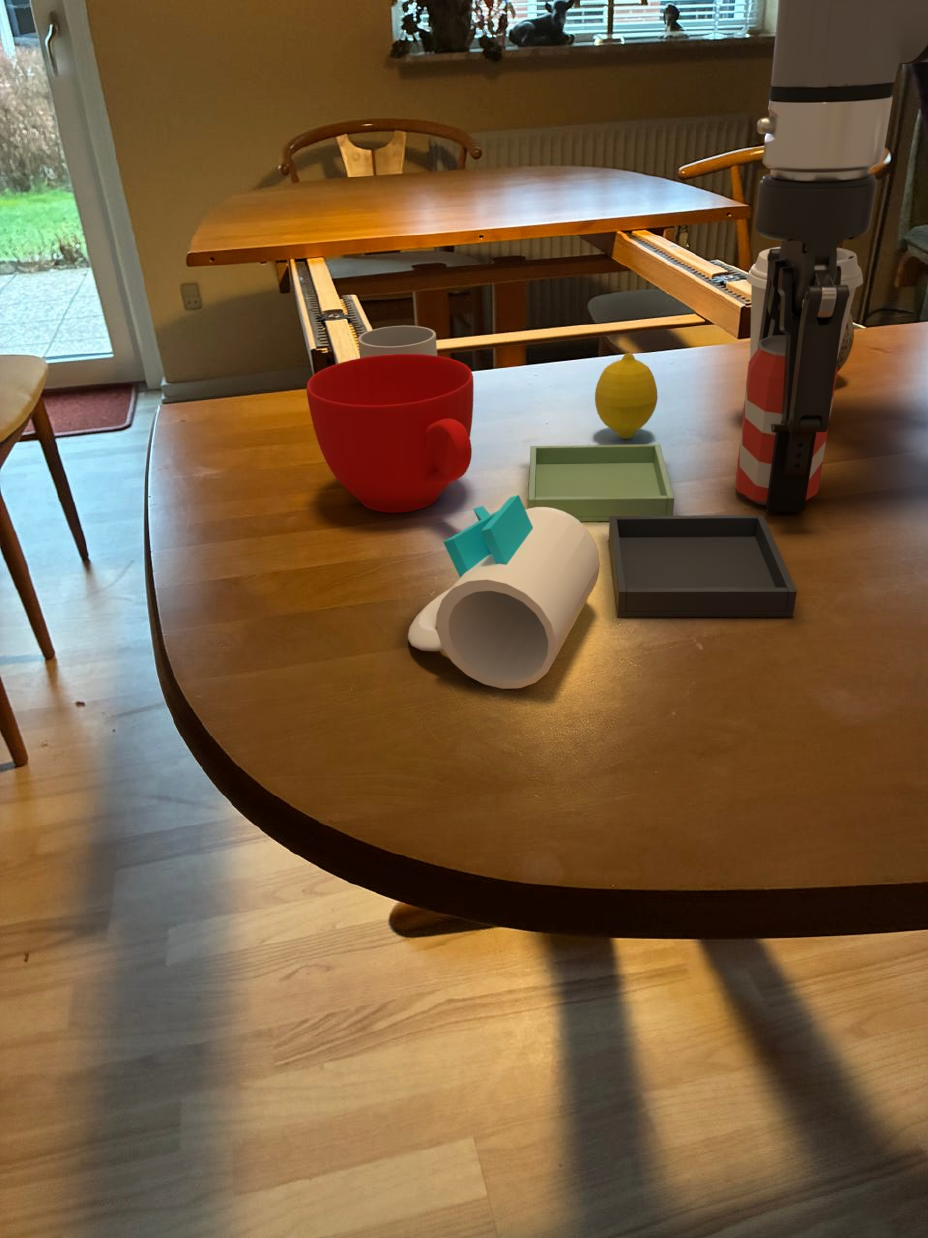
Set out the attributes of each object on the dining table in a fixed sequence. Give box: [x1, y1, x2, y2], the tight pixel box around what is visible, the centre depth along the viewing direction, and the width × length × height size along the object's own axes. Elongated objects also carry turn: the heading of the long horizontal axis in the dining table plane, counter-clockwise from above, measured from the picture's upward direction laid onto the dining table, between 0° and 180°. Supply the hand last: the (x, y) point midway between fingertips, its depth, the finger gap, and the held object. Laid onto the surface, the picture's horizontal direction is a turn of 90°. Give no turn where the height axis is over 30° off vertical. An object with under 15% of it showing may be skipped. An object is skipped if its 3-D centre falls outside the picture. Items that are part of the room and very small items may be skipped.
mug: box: [407, 494, 601, 690], centre depth 59 cm, size 12×9×12 cm
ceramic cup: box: [306, 354, 475, 514], centre depth 75 cm, size 13×17×10 cm
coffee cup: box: [746, 246, 864, 360], centre depth 85 cm, size 10×10×15 cm
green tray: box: [527, 443, 675, 522], centre depth 77 cm, size 11×11×2 cm
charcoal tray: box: [608, 514, 798, 618], centre depth 65 cm, size 11×11×2 cm
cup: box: [357, 325, 438, 358], centre depth 89 cm, size 7×10×9 cm
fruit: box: [594, 351, 659, 440], centre depth 85 cm, size 6×6×8 cm
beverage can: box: [735, 335, 839, 506], centre depth 72 cm, size 6×6×12 cm
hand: (775, 489), depth 75 cm, fingers closed on beverage can, 6 cm apart
